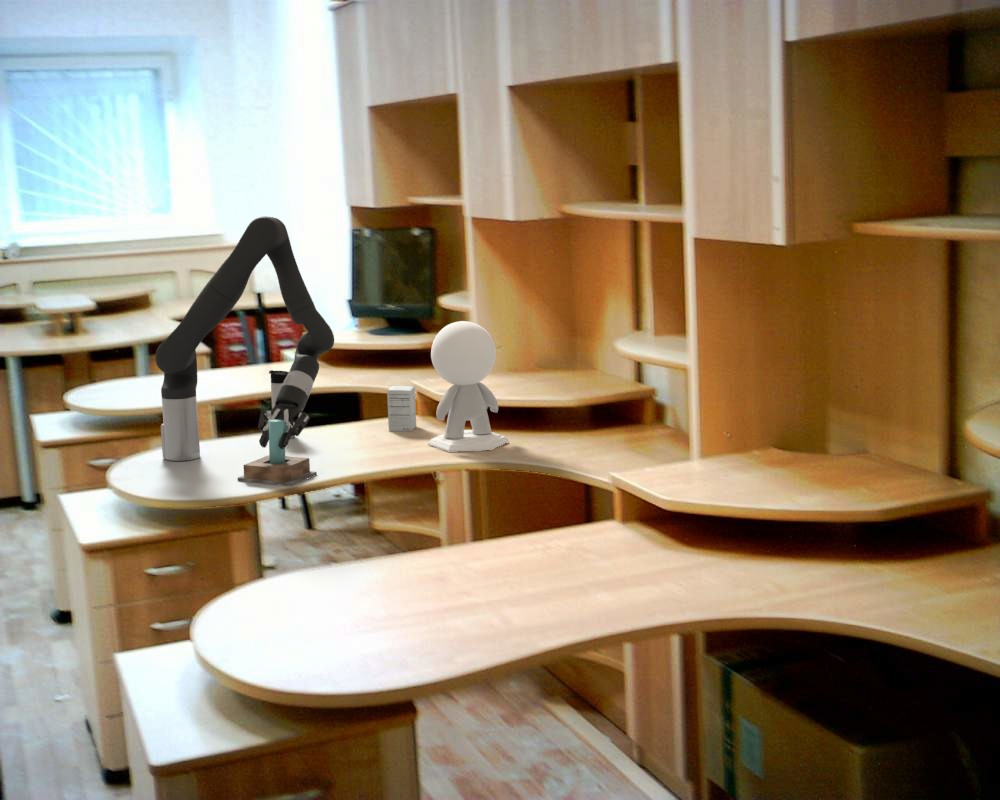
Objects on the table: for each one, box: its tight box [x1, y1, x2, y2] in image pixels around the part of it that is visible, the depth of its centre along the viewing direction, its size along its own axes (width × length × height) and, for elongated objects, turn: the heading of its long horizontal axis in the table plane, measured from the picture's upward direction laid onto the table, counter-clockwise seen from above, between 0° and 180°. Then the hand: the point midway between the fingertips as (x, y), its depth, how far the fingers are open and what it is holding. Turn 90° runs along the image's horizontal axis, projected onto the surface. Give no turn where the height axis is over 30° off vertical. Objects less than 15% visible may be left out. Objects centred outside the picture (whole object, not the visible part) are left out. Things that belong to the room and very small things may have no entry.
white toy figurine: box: [427, 320, 510, 453], centre depth 354 cm, size 20×23×35 cm
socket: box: [237, 454, 318, 487], centre depth 321 cm, size 16×12×4 cm
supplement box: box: [386, 385, 417, 432], centre depth 378 cm, size 7×7×13 cm
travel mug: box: [268, 369, 296, 439], centre depth 369 cm, size 6×7×20 cm
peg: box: [268, 419, 286, 465], centre depth 320 cm, size 4×4×14 cm
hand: (271, 446), depth 318 cm, fingers open, 5 cm apart
